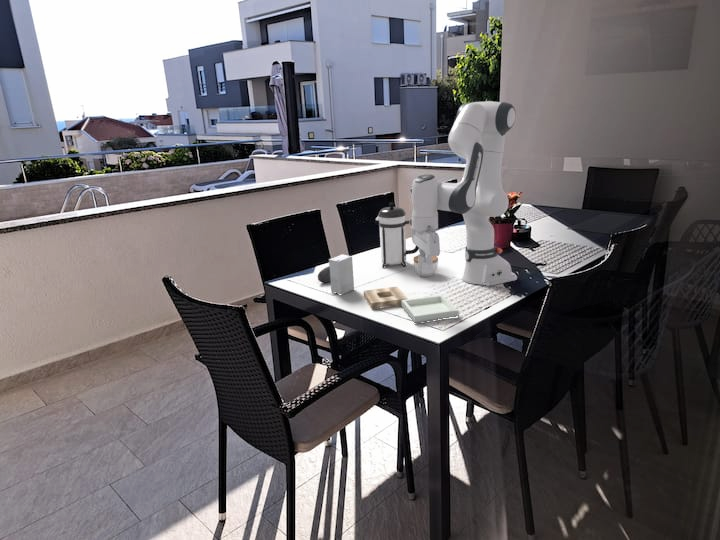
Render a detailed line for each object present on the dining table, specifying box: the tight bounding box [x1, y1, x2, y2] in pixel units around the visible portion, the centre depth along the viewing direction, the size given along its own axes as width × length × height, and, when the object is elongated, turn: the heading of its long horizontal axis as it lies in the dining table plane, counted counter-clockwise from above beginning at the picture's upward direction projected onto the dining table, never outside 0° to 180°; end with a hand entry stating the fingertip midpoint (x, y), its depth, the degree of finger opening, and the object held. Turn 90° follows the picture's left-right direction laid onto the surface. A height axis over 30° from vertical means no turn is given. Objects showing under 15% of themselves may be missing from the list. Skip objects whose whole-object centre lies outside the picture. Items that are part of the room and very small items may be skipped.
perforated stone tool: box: [317, 265, 331, 283], centre depth 217 cm, size 15×5×7 cm, turn 127°
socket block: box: [363, 286, 409, 310], centre depth 191 cm, size 14×14×2 cm
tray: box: [401, 294, 460, 324], centre depth 177 cm, size 16×16×3 cm
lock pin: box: [417, 253, 433, 274], centre depth 172 cm, size 4×4×6 cm
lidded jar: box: [413, 255, 439, 278], centre depth 217 cm, size 11×11×9 cm
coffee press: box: [375, 201, 419, 269], centre depth 231 cm, size 17×16×30 cm
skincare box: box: [328, 253, 355, 295], centre depth 201 cm, size 8×6×15 cm
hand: (425, 261), depth 172 cm, fingers closed on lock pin, 4 cm apart
